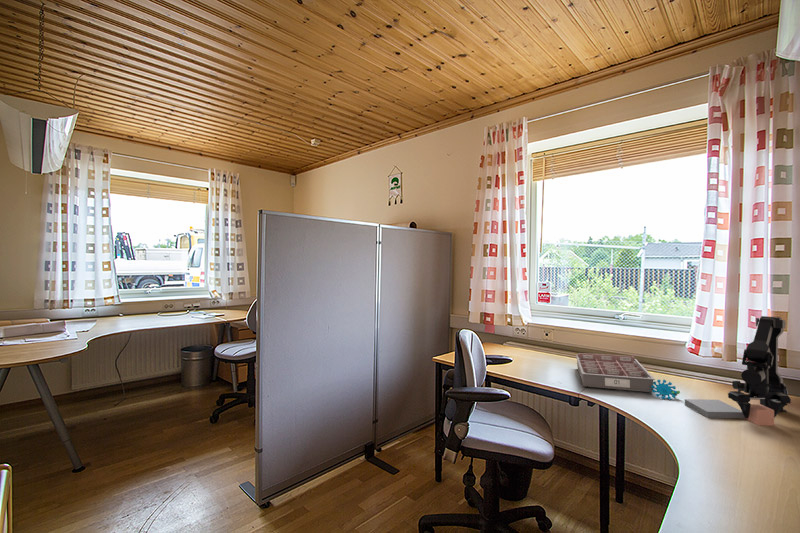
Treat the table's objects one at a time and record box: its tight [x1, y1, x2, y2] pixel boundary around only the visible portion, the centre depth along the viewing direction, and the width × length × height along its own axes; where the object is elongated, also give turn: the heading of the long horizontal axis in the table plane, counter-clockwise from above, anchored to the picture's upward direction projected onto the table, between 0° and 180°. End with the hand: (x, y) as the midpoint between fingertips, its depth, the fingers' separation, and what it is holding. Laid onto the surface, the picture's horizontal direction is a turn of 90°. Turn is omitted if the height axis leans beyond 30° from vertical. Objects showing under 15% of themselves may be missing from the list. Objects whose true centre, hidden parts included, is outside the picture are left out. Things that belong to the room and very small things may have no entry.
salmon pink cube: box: [744, 403, 775, 426], centre depth 146 cm, size 6×6×6 cm
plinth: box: [684, 398, 745, 419], centre depth 157 cm, size 14×14×2 cm
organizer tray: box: [575, 352, 656, 393], centre depth 201 cm, size 32×40×10 cm
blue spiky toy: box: [651, 379, 681, 401], centre depth 175 cm, size 11×6×10 cm
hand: (759, 418), depth 146 cm, fingers open, 9 cm apart
